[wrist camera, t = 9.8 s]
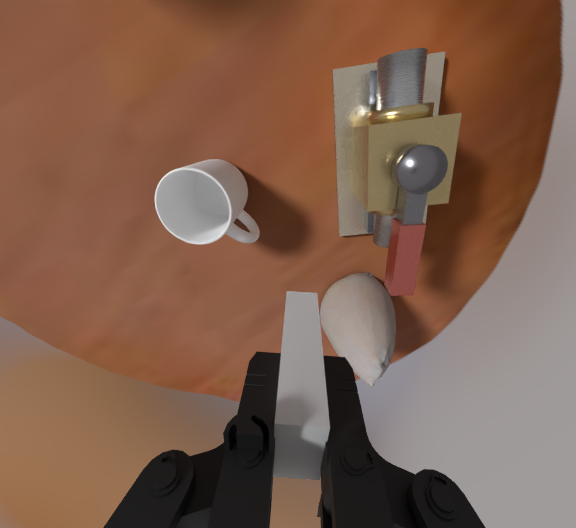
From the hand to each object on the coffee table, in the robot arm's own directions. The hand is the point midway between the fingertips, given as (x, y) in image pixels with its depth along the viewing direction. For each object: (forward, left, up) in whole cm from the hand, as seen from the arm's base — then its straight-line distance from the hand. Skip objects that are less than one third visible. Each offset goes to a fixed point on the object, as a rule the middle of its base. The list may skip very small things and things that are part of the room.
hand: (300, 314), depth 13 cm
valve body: (-4, +11, -26) cm, 29 cm away
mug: (-1, -10, -27) cm, 28 cm away
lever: (+1, +11, -16) cm, 19 cm away
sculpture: (+19, +7, -27) cm, 34 cm away
